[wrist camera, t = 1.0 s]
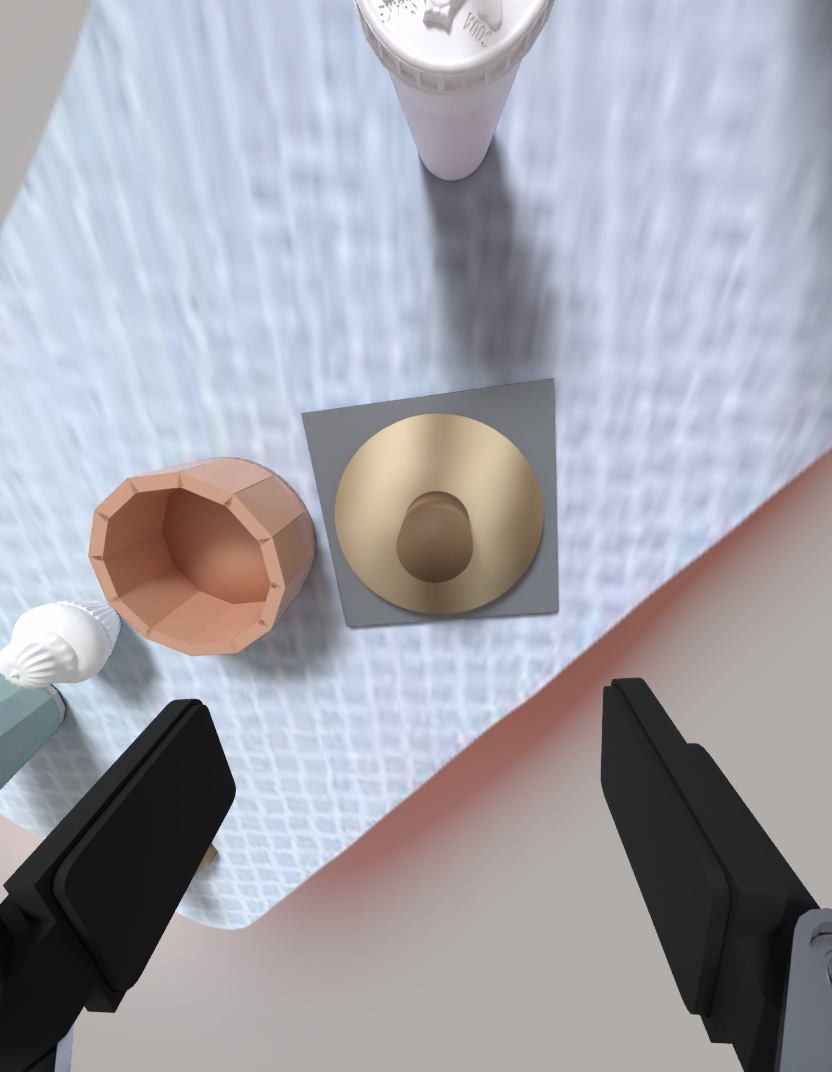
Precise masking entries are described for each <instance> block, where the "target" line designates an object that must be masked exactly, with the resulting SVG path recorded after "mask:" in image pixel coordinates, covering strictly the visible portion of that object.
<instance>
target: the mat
mask: <svg viewBox="0 0 832 1072" xmlns="http://www.w3.org/2000/svg"><path fill="white" fill-rule="evenodd" d="M434 413H444V414H455V415H460V416H465V417H469V418H471V419H474V420H477V421H480V422H482V423H484V424H486V425H488V426H490V427H492V428H493V429H495V430H496V431H498V432H499V433H500V434H502V435H503V436H505V437H506V438H507V439H508V440H509V441H510V442H512V443H513V444H514V445H515V446H516V447H517V448H518V449H519V451H520V452H521V453H522V454H523V456H524V457H525V458H526V460H527V461H528V463H529V465H530V466H531V468H532V470H533V472H534V474H535V476H536V479H537V481H538V484H539V487H540V491H541V495H542V501H543V510H544V515H543V528H542V534H541V539H540V542H539V545H538V548H537V551H536V553H535V555H534V557H533V559H532V561H531V563H530V565H529V566H528V568H527V569H526V571H525V572H524V574H523V575H522V576H521V577H520V578H519V579H518V581H517V582H516V583H515V584H514V585H513V586H511V587H510V588H509V589H508V590H507V591H506V592H504V593H503V594H502V595H500V596H499V597H497V598H496V599H494V600H492V601H490V602H488V603H486V604H485V605H482V606H479V607H477V608H474V609H471V610H467V611H463V612H459V613H451V614H429V613H421V612H416V611H412V610H408V609H405V608H402V607H399V606H397V605H395V604H393V603H391V602H389V601H387V600H385V599H384V598H382V597H380V596H379V595H377V594H376V593H375V592H373V591H372V590H371V589H370V588H369V587H367V586H366V585H365V584H364V583H363V582H362V581H361V580H360V578H359V577H358V576H357V575H356V573H355V572H354V571H353V570H352V568H351V567H350V565H349V563H348V562H347V560H346V558H345V556H344V554H343V551H342V549H341V547H340V544H339V540H338V537H337V533H336V526H335V501H336V494H337V491H338V487H339V483H340V480H341V478H342V476H343V473H344V471H345V469H346V467H347V466H348V464H349V462H350V461H351V459H352V457H353V456H354V455H355V454H356V453H357V451H358V450H359V449H360V448H361V447H362V446H363V445H364V444H365V443H366V442H367V441H368V440H369V439H370V438H371V437H373V436H374V435H375V434H377V433H378V432H380V431H381V430H383V429H384V428H386V427H388V426H390V425H392V424H394V423H396V422H398V421H401V420H404V419H407V418H409V417H413V416H418V415H423V414H434ZM301 414H302V419H303V424H304V428H305V433H306V438H307V442H308V447H309V452H310V457H311V461H312V466H313V471H314V475H315V480H316V485H317V490H318V494H319V499H320V504H321V508H322V513H323V518H324V522H325V527H326V532H327V537H328V541H329V546H330V551H331V555H332V560H333V565H334V570H335V574H336V579H337V584H338V588H339V593H340V598H341V602H342V607H343V612H344V617H345V621H346V626H347V627H349V626H362V625H376V624H390V623H403V622H417V621H431V620H445V619H458V618H472V617H486V616H499V615H513V614H527V613H541V612H554V611H559V600H558V551H557V501H556V452H555V403H554V378H553V379H545V380H538V381H531V382H524V383H517V384H509V385H502V386H495V387H488V388H481V389H473V390H466V391H459V392H452V393H445V394H437V395H430V396H423V397H416V398H409V399H401V400H394V401H387V402H380V403H372V404H365V405H358V406H351V407H344V408H336V409H329V410H322V411H315V412H308V413H301Z"/></svg>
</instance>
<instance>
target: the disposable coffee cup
mask: <svg viewBox="0 0 832 1072" xmlns="http://www.w3.org/2000/svg"><path fill="white" fill-rule="evenodd" d="M64 713H65V705H64V703H63V701H62V699H61V697H60V695H59V693H58V691H57V690H56V689H55V688H54V687H52V686H51V685H50V684H49V685H48V686H47V687H44V688H37V689H33V690H31V689H27V688H23V689H22V688H19V687H18V686H17V685H12V683H11V681H8V680H6V679H5V676H4V675H2V674H0V790H1V788H2V787H3V786H4V785H5V784H6V783H7V782H8V781H9V780H10V779H11V778H12V777H13V776H14V775H15V774H16V773H17V772H18V771H19V770H20V769H21V768H22V767H23V766H24V765H25V763H26V762H27V761H28V760H29V759H30V758H31V757H32V756H33V755H34V754H35V753H36V752H37V751H38V750H39V749H40V748H41V747H42V746H43V745H44V744H45V743H46V742H47V741H48V739H49V738H50V737H51V736H52V735H53V734H54V733H55V732H56V731H57V730H58V729H59V725H60V724H61V722H62V721H63V720H64Z"/></svg>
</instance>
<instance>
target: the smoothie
mask: <svg viewBox="0 0 832 1072" xmlns="http://www.w3.org/2000/svg"><path fill="white" fill-rule="evenodd" d="M554 1H555V0H353V4H354V8H355V11H356V13H357V16H358V19H359V22H360V24H361V27H362V30H363V33H364V35H365V38H366V40H367V42H368V43H369V45H370V46H371V48H372V49H373V51H374V53H375V54H376V56H377V57H378V59H379V60H380V62H381V63H382V65H383V66H384V67H385V68H386V69H387V70H388V72H389V74H390V77H391V80H392V82H393V85H394V88H395V91H396V93H397V96H398V99H399V101H400V104H401V107H402V109H403V112H404V115H405V117H406V120H407V123H408V126H409V128H410V131H411V134H412V136H413V139H414V142H415V144H416V147H417V150H418V153H419V155H420V158H421V160H422V162H423V164H424V165H425V167H426V168H427V169H428V170H429V171H430V172H431V173H432V174H433V175H434V176H436V177H438V178H440V179H443V180H447V181H455V180H460V179H462V178H465V177H467V176H468V175H470V174H471V173H472V172H474V171H475V170H476V169H477V168H478V166H479V165H480V164H481V162H482V161H483V159H484V157H485V155H486V153H487V150H488V148H489V145H490V142H491V140H492V137H493V134H494V132H495V129H496V127H497V124H498V121H499V119H500V116H501V113H502V111H503V108H504V105H505V103H506V100H507V98H508V95H509V92H510V90H511V87H512V84H513V82H514V79H515V77H516V74H517V71H518V69H519V66H520V63H521V61H522V59H523V57H524V56H525V55H526V54H527V53H528V52H529V51H530V49H531V47H532V46H533V44H534V42H535V41H536V39H537V37H538V36H539V34H540V32H541V31H542V29H543V27H544V26H545V24H546V22H547V21H548V18H549V15H550V12H551V9H552V7H553V4H554Z"/></svg>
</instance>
